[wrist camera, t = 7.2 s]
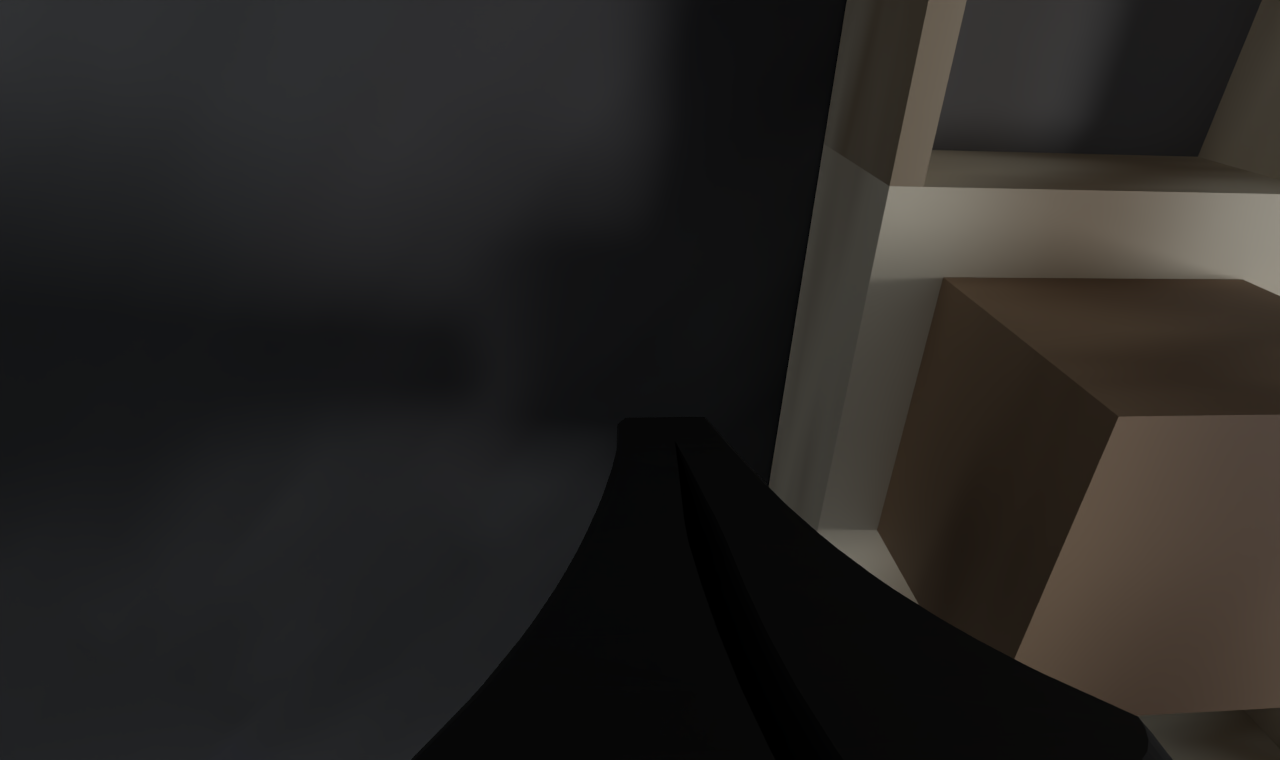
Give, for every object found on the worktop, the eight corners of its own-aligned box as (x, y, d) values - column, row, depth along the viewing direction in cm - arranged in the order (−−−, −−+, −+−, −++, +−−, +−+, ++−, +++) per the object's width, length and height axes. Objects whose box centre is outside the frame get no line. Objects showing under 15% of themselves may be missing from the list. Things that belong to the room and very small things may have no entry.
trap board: (1864, -311, 11) (2274, -401, 8) (1218, 683, 22) (1306, 780, 19) (912, -411, 9) (1046, -561, 7) (732, 709, 20) (757, 817, 18)
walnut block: (1242, 279, 11) (1538, 411, 8) (1125, 522, 14) (1314, 705, 10) (943, 277, 11) (1119, 416, 7) (877, 530, 13) (986, 724, 10)
